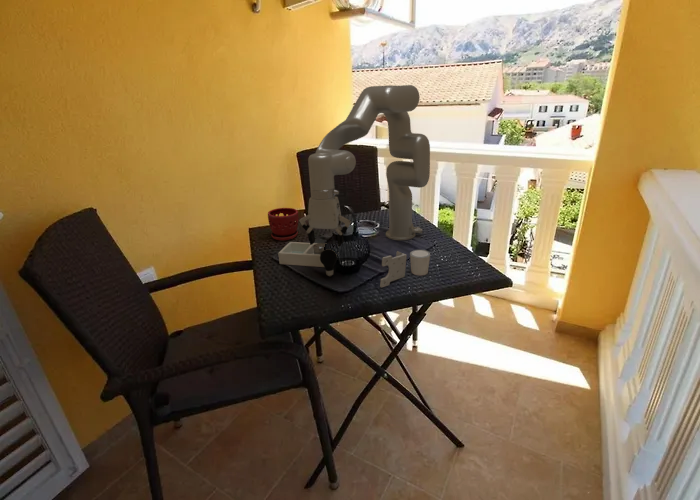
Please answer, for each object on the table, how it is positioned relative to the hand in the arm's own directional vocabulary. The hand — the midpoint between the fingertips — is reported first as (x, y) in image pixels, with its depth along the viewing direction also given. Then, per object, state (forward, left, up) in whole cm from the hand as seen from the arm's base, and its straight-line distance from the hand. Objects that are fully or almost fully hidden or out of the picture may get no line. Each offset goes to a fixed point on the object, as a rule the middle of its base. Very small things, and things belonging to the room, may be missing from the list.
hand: (326, 244), depth 124 cm
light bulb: (0, -1, -13) cm, 13 cm away
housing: (+12, -13, -12) cm, 21 cm away
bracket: (-21, -1, -13) cm, 24 cm away
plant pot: (+31, -34, -13) cm, 47 cm away
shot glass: (-30, -9, -13) cm, 34 cm away
